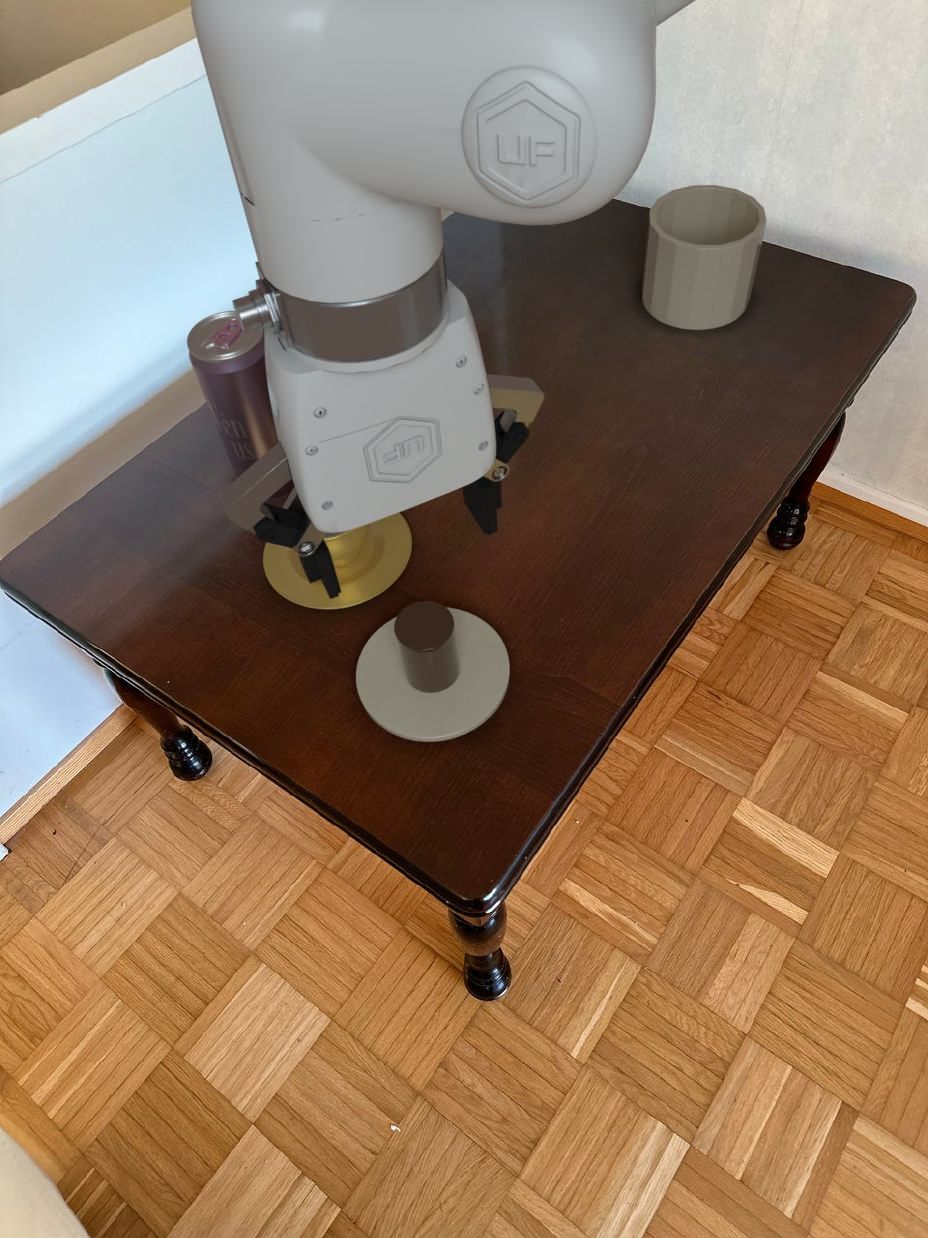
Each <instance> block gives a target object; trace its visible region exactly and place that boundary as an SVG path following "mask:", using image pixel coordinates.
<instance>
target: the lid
mask: <svg viewBox="0 0 928 1238" xmlns="http://www.w3.org/2000/svg"><path fill="white" fill-rule="evenodd" d="M506 647H507V646H506V645H505V643H504V642H503V640H502V638H501V636H500V635H499V634H498V632H497V631H496V630H495V629H494V628H493V627H492V626H491V625H490V624H489V623H487V622H486V621H485V620H484V619H482V618H480V617H479V616H477V615H475V614H473V613H471V612H468V611H465V610H461V609H458V608H454V607H453V608H452V607H446V606H445V605H443V604H442V603H439V602H437V601H432V600H420V601H416V602H413V603H410V604H409V605H407V606H405V607H404V608H403V609H402V610H401V611H400V612H398V614H397V616H395V617H393V618H391V619H390V620H388V621H387V622H385V623H384V624H383V625H381V626H380V627H379V628H378V629H377V630H376V631H375V632H374V633H373V634H371V636H370V638H369V639H368V641H367V642H366V643H365V645H364V646H363V648H362V650H361V652H360V655H359V657H358V660H357V663H356V670H355V685H356V689H357V694H358V697H359V700H360V702H361V705H362V706H363V708H364V711H365V712H366V713H367V715H368V716H369V718H371V720H373V721H374V722H375V723H376V724H377V726H379V727H381V728H382V729H384V730H385V731H387V732H388V733H391V734H392V735H394V736H397V737H400V738H402V739H406V740H411V741H414V742H424V743H426V742H427V743H428V742H435V743H436V742H442V741H448V740H452V739H456V738H458V737H461V736H463V735H466V734H468V733H470V732H472V731H474V730H476V729H477V728H478V727H480V726H482V725H483V724H484V723H485V722H486V721H488V720H489V719H490V718H491V717H492V716H493V714H494V713H495V712H496V711H497V710H498V709H499V707H500V705H501V704H502V703H503V701H504V698H505V696H506V694H507V691H508V688H509V685H510V678H511V664H510V658H509V654H508V650H507V648H506Z"/></svg>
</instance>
